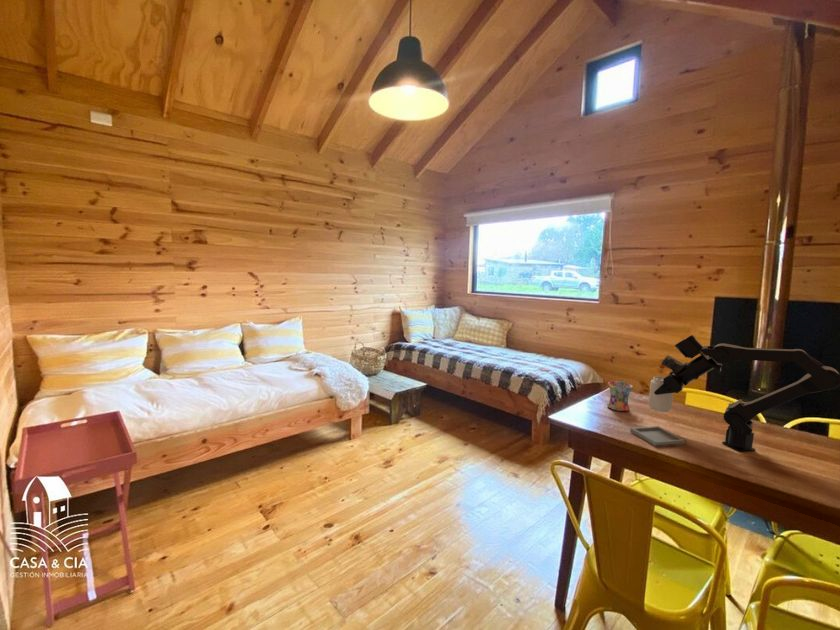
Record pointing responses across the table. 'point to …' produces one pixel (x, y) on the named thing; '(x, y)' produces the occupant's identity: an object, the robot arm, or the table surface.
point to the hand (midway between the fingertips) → (657, 391)
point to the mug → (619, 395)
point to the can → (659, 396)
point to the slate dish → (657, 436)
